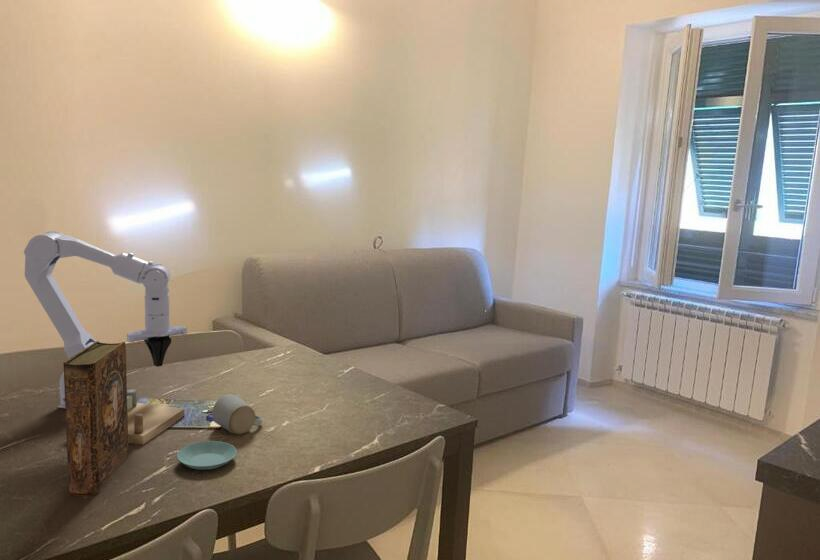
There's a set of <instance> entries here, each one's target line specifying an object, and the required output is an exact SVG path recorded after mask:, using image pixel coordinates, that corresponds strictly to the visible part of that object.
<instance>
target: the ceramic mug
mask: <svg viewBox="0 0 820 560" xmlns="http://www.w3.org/2000/svg"><path fill="white" fill-rule="evenodd" d="M212 407H213V408H212V409H211V410H212V412H211V413H212V420H213V421H214V422H215V423H216V424H217V425H218V426H220V427H221V428H223V429H225V430H227V432H230V433H231V434H235V435H243V434H245V433H247V432H249V431H250V430H251V429H252V427H253V426H254V427H261V425H262V423H263V418H261V417H260V416H259V415H257V414H256V412H255V410H254V409H253V407H252V406H251V405H250V404H248V403H247V402H246V401H244V400H243V399H241V398H240V397H239V396H237V395H235V394H231V393H229V394H225V395H223V396H221V397H219V398H218V399H217V401H216V402H215V403H214V405H213V406H212Z"/></svg>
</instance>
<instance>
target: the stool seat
mask: <svg viewBox="0 0 820 560" xmlns="http://www.w3.org/2000/svg"><path fill="white" fill-rule="evenodd" d="M127 414H128V444H135V445H145V444H147V442H150V441H151V440H152V439H154V438H155V437H157V436H158V435H160V434H161V433H163V432H164V431H165V430H167V429H169V428H170V427H171V426H173V425H174V424H176V423H177V422H178V420H179V419H180V420H182V419H183V418H184V417H185V408H181V407H173V406H166V405H158V404H149V403H142V402H137V405H136V406H135V407H132V408H130V409H129V410H127ZM183 416H184V417H183ZM182 417H183V418H182ZM181 418H182V419H181ZM180 420H179V421H180ZM176 421H177V422H176ZM175 422H176V423H175ZM172 424H173V425H172Z"/></svg>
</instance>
